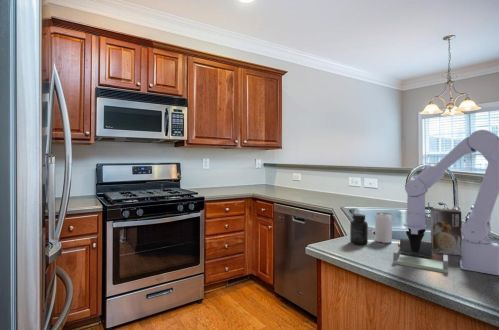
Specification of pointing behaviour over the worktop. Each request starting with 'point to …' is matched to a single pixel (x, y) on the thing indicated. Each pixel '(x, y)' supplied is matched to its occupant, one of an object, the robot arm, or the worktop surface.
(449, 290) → the worktop surface
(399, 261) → the holder
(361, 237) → the supplement bottle
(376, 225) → the can
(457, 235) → the coffee box
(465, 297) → the worktop surface
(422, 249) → the cell
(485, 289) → the worktop surface
